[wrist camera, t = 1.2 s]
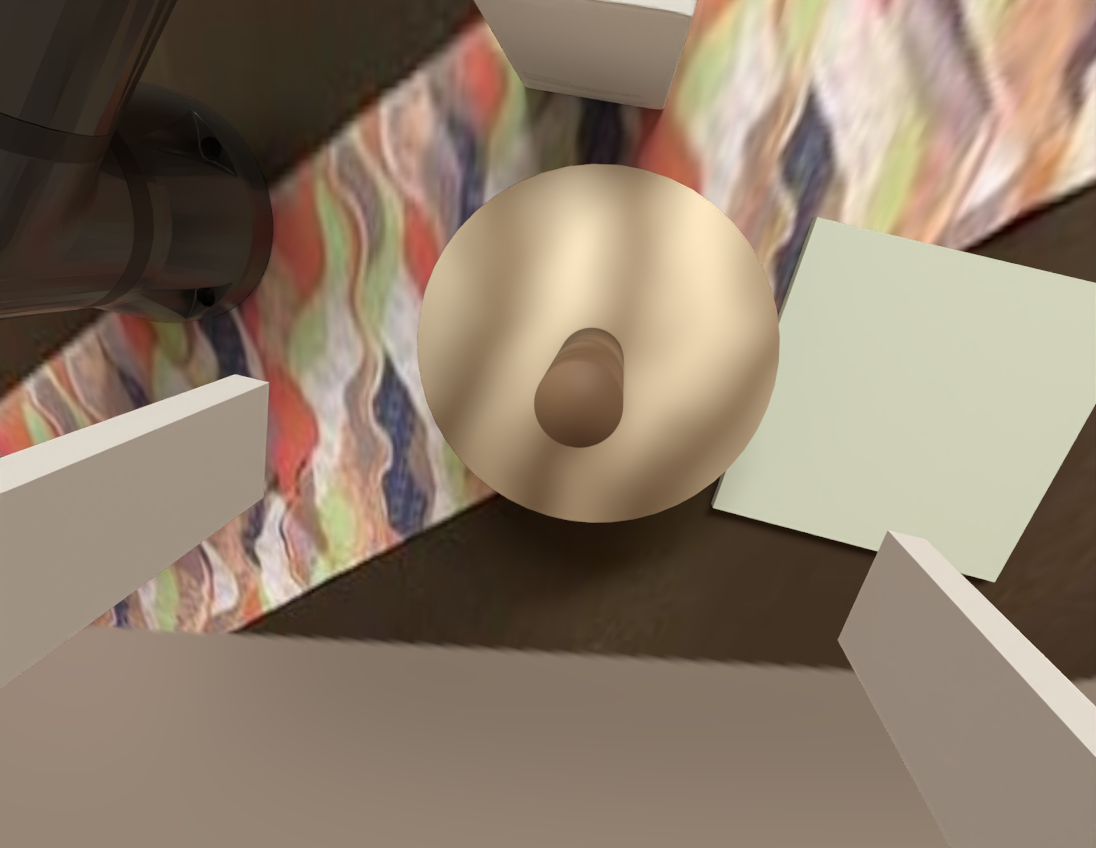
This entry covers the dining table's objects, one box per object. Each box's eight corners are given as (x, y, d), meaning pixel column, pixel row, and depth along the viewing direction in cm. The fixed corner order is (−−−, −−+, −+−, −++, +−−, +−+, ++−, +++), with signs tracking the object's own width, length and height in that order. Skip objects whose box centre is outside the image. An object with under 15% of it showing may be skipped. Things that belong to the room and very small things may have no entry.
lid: (399, 463, 35) (314, 548, 25) (459, 125, 29) (377, 66, 19) (704, 550, 34) (736, 671, 25) (832, 220, 28) (940, 210, 19)
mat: (711, 503, 42) (712, 507, 41) (813, 217, 36) (817, 217, 35) (987, 575, 41) (994, 582, 40) (1144, 296, 35) (1155, 297, 34)
